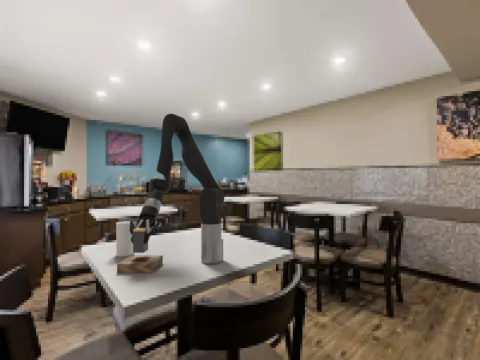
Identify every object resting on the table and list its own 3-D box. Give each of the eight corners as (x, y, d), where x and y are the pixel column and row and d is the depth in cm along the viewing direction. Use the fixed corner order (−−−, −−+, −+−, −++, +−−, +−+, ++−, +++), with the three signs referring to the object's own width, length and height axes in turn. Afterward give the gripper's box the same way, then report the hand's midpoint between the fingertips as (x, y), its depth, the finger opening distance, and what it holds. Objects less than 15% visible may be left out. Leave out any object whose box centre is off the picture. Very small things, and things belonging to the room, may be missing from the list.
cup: (129, 251, 130) (129, 220, 130) (137, 253, 125) (137, 222, 125) (113, 254, 124) (113, 222, 124) (121, 257, 119) (121, 224, 119)
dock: (162, 263, 109) (162, 255, 109) (151, 273, 97) (151, 264, 97) (131, 263, 110) (131, 255, 110) (117, 272, 98) (117, 263, 98)
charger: (148, 249, 106) (148, 227, 106) (143, 252, 102) (143, 229, 102) (137, 249, 106) (138, 227, 106) (133, 252, 102) (133, 229, 102)
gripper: (132, 204, 112) (118, 237, 100) (164, 205, 111) (153, 238, 99) (138, 215, 117) (125, 247, 105) (167, 215, 116) (158, 247, 104)
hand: (138, 242), depth 102 cm, fingers closed on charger, 4 cm apart
